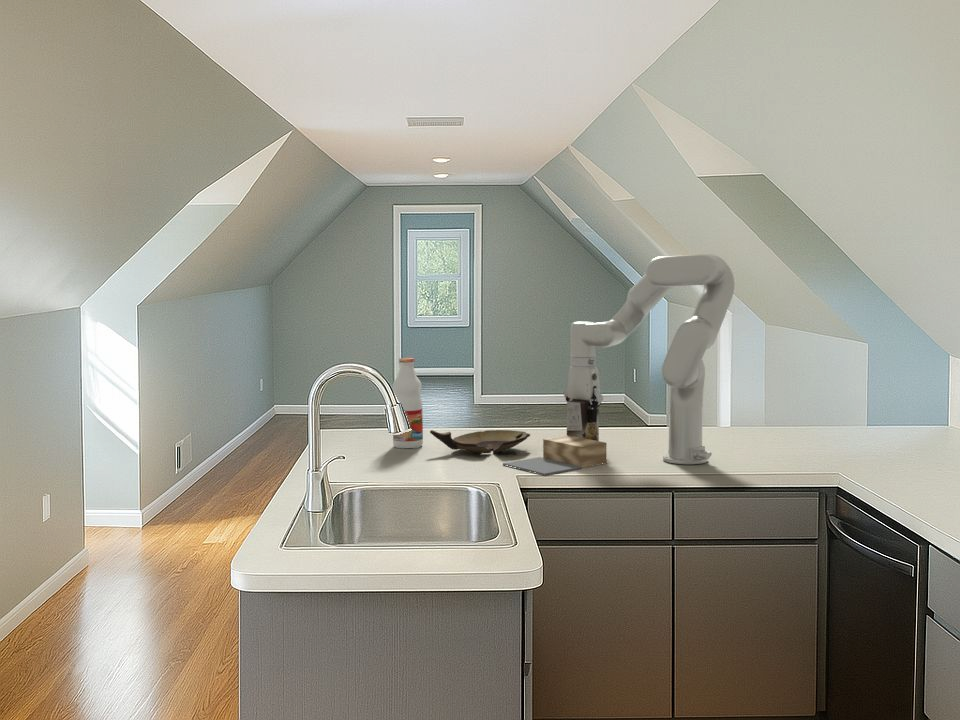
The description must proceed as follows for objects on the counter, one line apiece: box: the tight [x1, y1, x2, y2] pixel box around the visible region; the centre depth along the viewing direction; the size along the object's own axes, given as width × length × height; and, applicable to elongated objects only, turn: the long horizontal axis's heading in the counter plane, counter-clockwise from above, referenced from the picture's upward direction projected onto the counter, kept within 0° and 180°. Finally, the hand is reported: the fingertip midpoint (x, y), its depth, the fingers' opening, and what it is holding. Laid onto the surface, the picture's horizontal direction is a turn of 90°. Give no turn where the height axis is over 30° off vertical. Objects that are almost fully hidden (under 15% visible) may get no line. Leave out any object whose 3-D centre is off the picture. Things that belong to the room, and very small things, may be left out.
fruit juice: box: [392, 357, 424, 449], centre depth 311 cm, size 9×9×28 cm
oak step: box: [542, 434, 608, 469], centre depth 286 cm, size 16×10×6 cm, turn 38°
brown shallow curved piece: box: [429, 429, 531, 454], centre depth 303 cm, size 22×30×8 cm
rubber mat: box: [502, 456, 583, 477], centre depth 279 cm, size 18×14×1 cm
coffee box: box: [566, 400, 600, 441], centre depth 299 cm, size 9×6×16 cm
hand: (582, 420), depth 298 cm, fingers closed on coffee box, 7 cm apart
